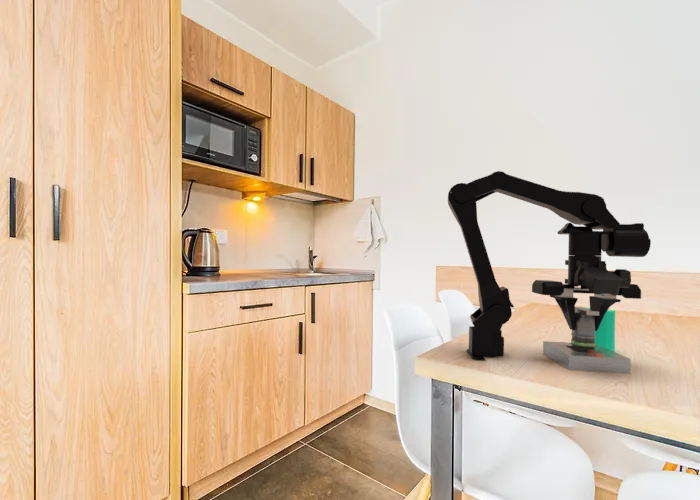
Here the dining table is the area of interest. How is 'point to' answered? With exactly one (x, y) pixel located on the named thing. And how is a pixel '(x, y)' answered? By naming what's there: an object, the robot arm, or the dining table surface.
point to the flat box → (586, 358)
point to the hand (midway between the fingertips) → (583, 330)
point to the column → (584, 328)
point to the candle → (606, 331)
